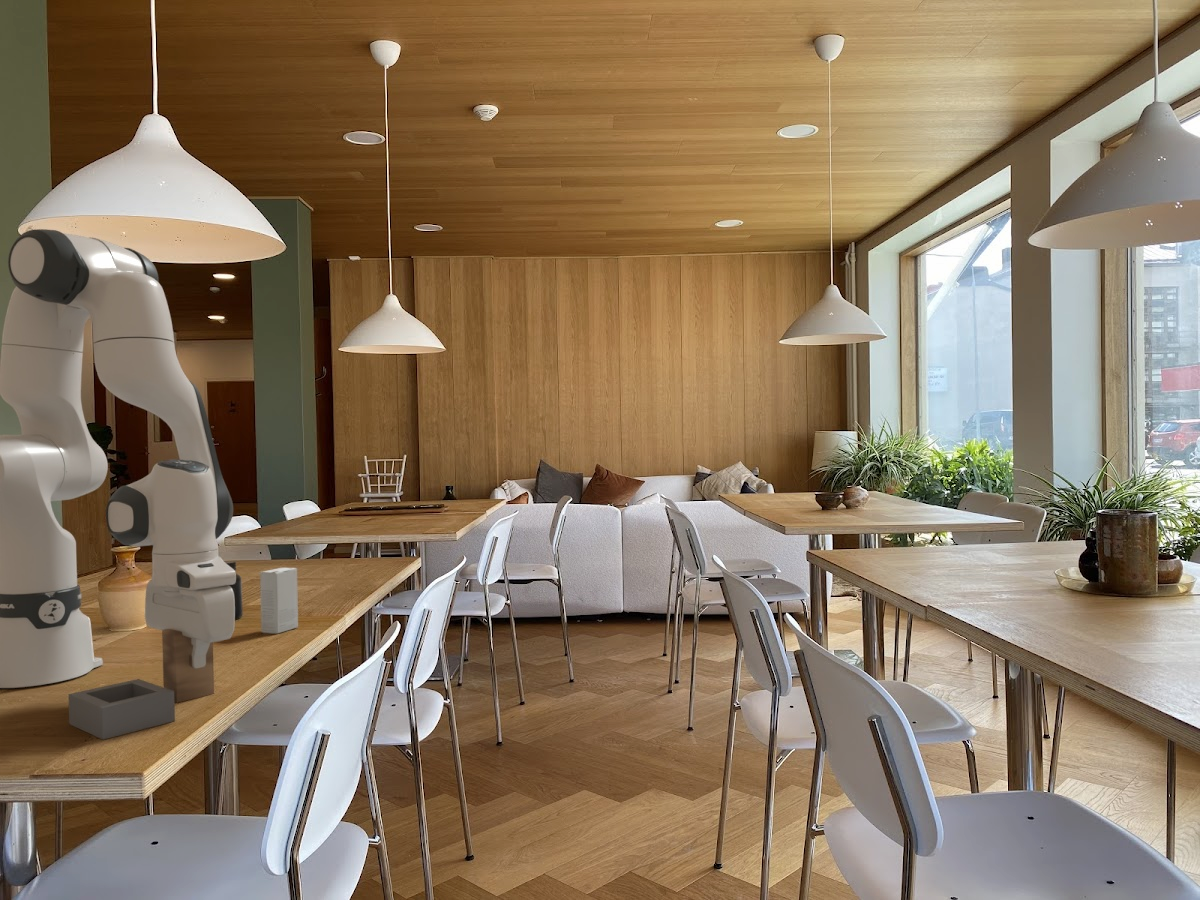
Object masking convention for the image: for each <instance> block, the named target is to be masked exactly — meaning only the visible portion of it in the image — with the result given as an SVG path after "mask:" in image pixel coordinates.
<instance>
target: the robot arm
mask: <svg viewBox="0 0 1200 900" xmlns="http://www.w3.org/2000/svg"><path fill="white" fill-rule="evenodd" d="M7 259H8V260H7V261H8V262H7V264H8V272H9V274H10V278H11V280H12V282H13V283H14V285H15V287H14V289H13V291H12V293H11V296H10V298H9V299H10V300H9V301H8V305H7V310H6V314H5V316H4V317H5V318H4V323H3V330H2V338H1V349H0V351H1V352H0V397H1V399H2V400H3V401H4V402H5V403H6V404H8V405H9V406H11V407H12V409H13V410H14V411H15V413H16V416H17V419H18V421H19V424H20V429H21V434H0V689H15V688H16V689H17V688H25V687H26V688H27V687H34V686H35V687H36V686H42V685H47V684H53V683H59V682H63V681H67V680H72V679H75V678H78V677H81V676H83V675H86V674H88V673H90V672H91V670H93V669H94V668H97V667H101V666H102V665H104V661H103V658H102V657H97V656H95V654H94V645H93V643H94V642H93V635H92V624H91V619H90V617H89V616H87V615H86V614H84V613H83V612H82V611H81V610H80V608H81V606H82V592H81V585H79V584H78V572H77V571H78V569H77V568H78V567H77V566H78V565H77V541H76V539H75V536H74V535H73V534H72V533H71V532H70V531H68V530H67V529H65V528H63V527H62V526H61V525H60V523H59V521H58V520H57V518H56V516H55V514H54V513H55V512H54V510H53V507H52V502H56V501H57V502H58V501H68V500H73V499H76V498H79V497H82V496H85V495H87V494H90V493H92V492H94V491H96V490H97V489H99V488H100V487H101V486H102V485H103V483H104V481H105V480H106V477H107V475H108V470H109V469H108V467H109V466H108V459H107V456H106V454H105V452H104V450H103V448H102V447H101V446H99V444H97V442H96V441H95V440H94V439H93V437H92V435H91V434H90V431H89V429H88V426H87V422H86V419H85V415H84V410H83V405H82V392H81V391H82V373H83V372H82V371H83V356H84V354H83V353H84V341H85V340H84V339H85V338H84V336H85V326H86V324H87V322H88V320H89V319H90V318H91V324H92V326H91V327H92V342H93V355H94V356H93V358H94V359H93V360H94V366H95V370H96V372H97V377H98V379H99V381H100V383H101V384H102V385H103V386H104V387H105V389H107V390H108V391H109V392H110V393H111V394H112V395H113V396H115V397H116V398H118V399H120V400H122V401H123V402H125V403H128V404H129V405H133V406H135V407H138V408H140V409H143V410H145V411H147V412H150V413H151V414H153V415H155V416H156V417H158V418H160V419H161V420H162V421H163V422H164V423H166V424H167V426H168V427H169V428H170V430H171V432H172V434H173V437H174V441H175V445H176V448H177V454H178V457H179V459H165V460H162V461H158V462H157V463H155V464H154V465H153V467H152V470H151V471H150V473H148V474H147V475H146V476H144V477H143V478H141V479H138V480H137V481H133V482H132V483H130V484H126V485H121V486H120V487H119V488H117V489H116V490H115V491H114V492H113V494H111V496H110V498H109V500H108V501H107V504H106V509H105V521H106V526H107V529H108V531H109V533H110V534H111V535H112V537H113V538H114V539H115V540H116V541H117V542H119V543H121V544H122V545H123V546H131V547H147V546H152V551H151V557H152V558H151V559H152V560H151V562H152V565H151V566H152V569H151V570H152V574H151V579H150V580H148V582H147V584H146V590H145V597H144V598H145V601H144V602H145V603H144V620H145V623H146V625H147V627H148V628H152V629H155V630H159V631H162V630H164V629H172V630H176V631H180V632H182V635H183V636H186V637H190V638H191V644H192V645H193V651H192V655H189V661H190V662H189V665H190V666H191V667H193V668H201V667H204V666H205V665H206V653H207V651H208V648H209V645H210V642H213V643H217V642H221V641H224V640H229V639H231V637H232V636H233V633H234V631H235V625H236V623H235V622H236V621H235V620H236V619H235V598H234V592H233V589H232V588H231V587H230V586H229V585H232V584H235V582H236V574H237V573H236V570H234V569H233V568H231V567H230V566H229V565H227V564H226V563H225V562H224V561H225V560H223V558H222V557H221V556H220V555H219V543H218V541H217V539H218V538H219V537H221V535H223V534H224V532H226V530H227V528H228V527H229V525H230V524H231V521H232V518H233V515H234V503H233V500H232V497H231V494H230V491H229V490H228V487H227V484H226V482H225V480H224V478H223V474H222V471H221V467H220V463H219V460H218V455H217V452H216V447H215V443H214V440H213V435H212V432H211V426H210V423H209V419H208V415H207V411H206V407H205V405H204V402H203V401H204V400H203V398H202V395H201V393H200V390H199V388H198V387H197V385H196V384H195V383H193V382H192V381H191V380H189V378H188V377H187V376H186V374H185V373H184V371H183V368H182V366H181V364H180V362H179V359H178V356H177V352H176V345H175V337H174V334H175V333H174V329H173V323H172V317H171V313H170V309H169V305H168V300H167V298H166V294H165V292H164V289H163V286H162V285H161V284H160V282H159V281H160V280H159V273H158V271H157V268H156V266H155V265H154V263H153V262H152V261H151V260H150V259H149V258H147V257H146V256H145V255H144V254H142V253H140V252H138V251H136V250H135V249H133V248H130V247H123V246H120V245H118V244H115V243H112V242H110V241H106V240H103V239H100V238H96V237H91V236H90V237H89V236H88V237H87V236H84V235H83V236H81V235H76V234H72V233H65V232H64V233H63V232H61V231H60V230H57V229H44V228H43V229H42V228H40V229H31V230H27V231H25V232H23V233H21V234H20V235H18V237H17V238H16V239H15V241H14V243H13V244H12V246H11V248H10V250H9V254H8V258H7Z"/></svg>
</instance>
